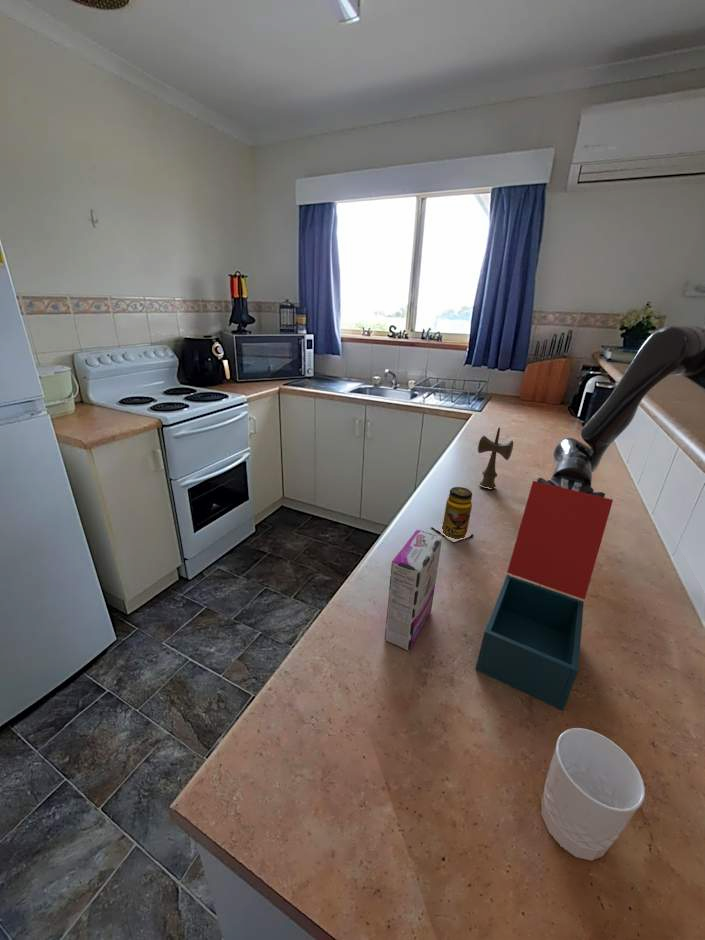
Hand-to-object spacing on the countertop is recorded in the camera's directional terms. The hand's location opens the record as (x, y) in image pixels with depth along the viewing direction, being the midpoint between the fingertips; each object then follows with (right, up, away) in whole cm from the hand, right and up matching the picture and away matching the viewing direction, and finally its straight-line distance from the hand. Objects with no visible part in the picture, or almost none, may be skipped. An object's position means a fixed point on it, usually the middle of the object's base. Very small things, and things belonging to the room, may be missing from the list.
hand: (565, 507), depth 74 cm
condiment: (-14, -9, +27) cm, 32 cm away
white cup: (-15, -32, -29) cm, 46 cm away
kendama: (+4, +1, +53) cm, 54 cm away
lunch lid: (-4, -5, -5) cm, 8 cm away
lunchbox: (-11, -23, -8) cm, 27 cm away
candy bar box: (-30, -21, -4) cm, 36 cm away
